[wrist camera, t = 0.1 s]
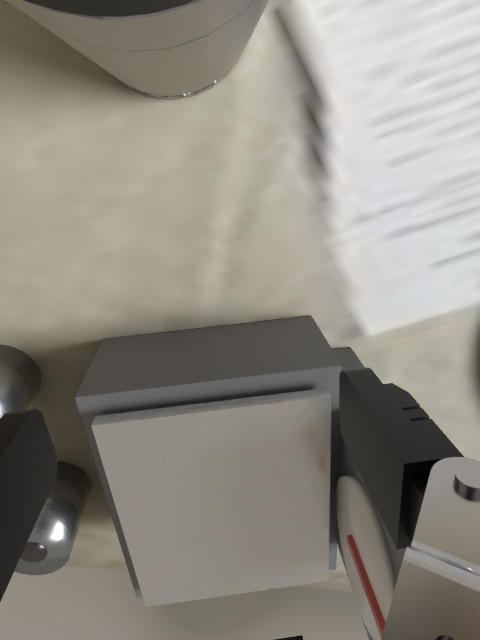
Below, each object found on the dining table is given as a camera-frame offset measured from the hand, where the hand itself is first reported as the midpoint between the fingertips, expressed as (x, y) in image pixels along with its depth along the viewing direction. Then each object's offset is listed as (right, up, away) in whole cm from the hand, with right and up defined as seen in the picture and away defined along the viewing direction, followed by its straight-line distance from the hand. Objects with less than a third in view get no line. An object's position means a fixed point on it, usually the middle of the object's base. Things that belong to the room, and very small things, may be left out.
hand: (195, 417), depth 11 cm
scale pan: (0, -9, +15) cm, 17 cm away
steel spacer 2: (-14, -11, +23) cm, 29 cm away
